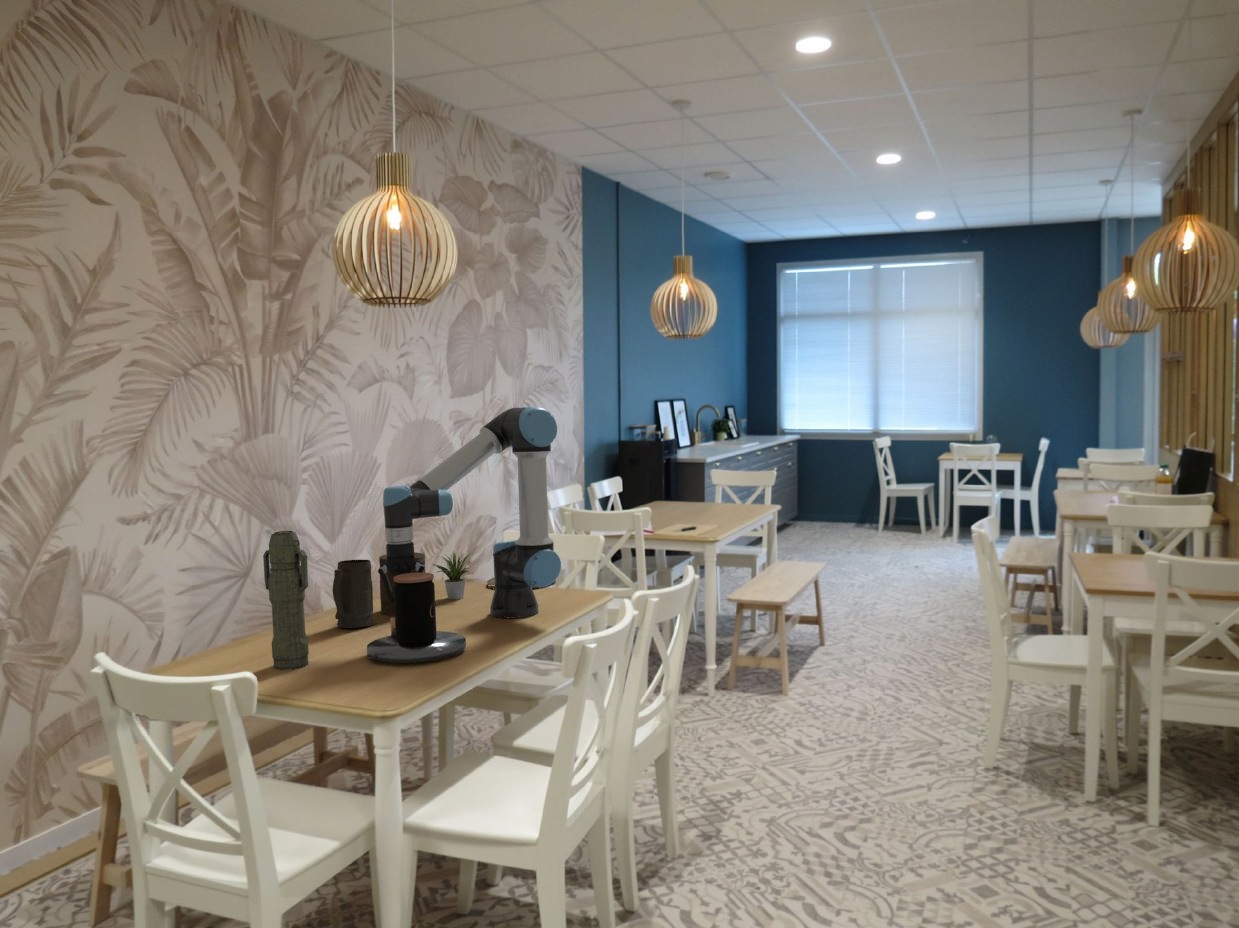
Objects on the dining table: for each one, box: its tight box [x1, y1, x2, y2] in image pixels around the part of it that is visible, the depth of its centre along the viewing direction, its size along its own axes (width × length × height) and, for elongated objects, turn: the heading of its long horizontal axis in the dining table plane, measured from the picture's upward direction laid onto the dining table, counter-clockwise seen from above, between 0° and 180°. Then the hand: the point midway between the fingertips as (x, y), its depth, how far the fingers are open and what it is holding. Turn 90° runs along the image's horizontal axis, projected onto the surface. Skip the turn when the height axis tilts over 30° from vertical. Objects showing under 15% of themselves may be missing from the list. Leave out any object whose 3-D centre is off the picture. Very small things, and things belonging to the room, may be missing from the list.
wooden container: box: [378, 551, 426, 616], centre depth 319 cm, size 15×15×22 cm
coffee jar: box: [393, 572, 437, 647], centre depth 263 cm, size 11×11×18 cm
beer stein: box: [332, 559, 374, 629], centre depth 298 cm, size 15×11×20 cm
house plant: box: [431, 552, 475, 601], centre depth 339 cm, size 14×14×16 cm
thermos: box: [262, 530, 309, 671], centre depth 255 cm, size 9×12×35 cm
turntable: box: [366, 616, 467, 664], centre depth 264 cm, size 26×26×7 cm
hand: (404, 625), depth 275 cm, fingers closed
